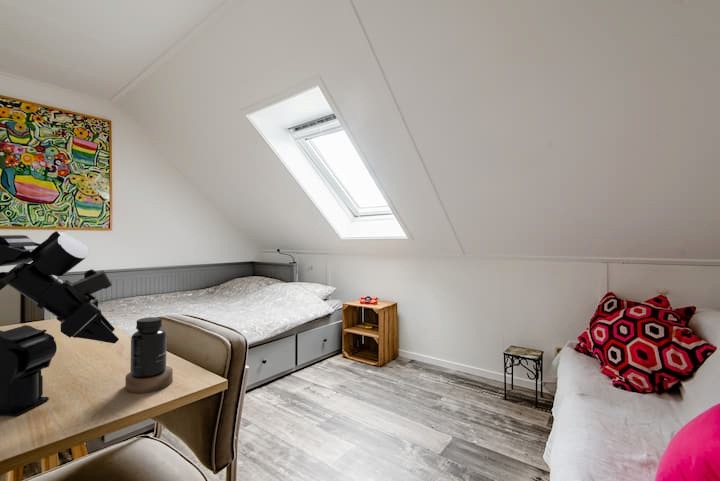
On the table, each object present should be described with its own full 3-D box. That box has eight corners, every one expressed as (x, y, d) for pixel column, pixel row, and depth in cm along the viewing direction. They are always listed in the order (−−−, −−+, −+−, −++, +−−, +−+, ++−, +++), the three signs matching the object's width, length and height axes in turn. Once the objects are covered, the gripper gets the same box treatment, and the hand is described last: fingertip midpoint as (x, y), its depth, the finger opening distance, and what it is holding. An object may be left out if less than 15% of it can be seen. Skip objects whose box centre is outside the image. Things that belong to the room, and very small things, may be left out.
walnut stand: (156, 394, 75) (156, 382, 75) (115, 392, 76) (115, 380, 75) (180, 376, 84) (180, 366, 84) (143, 375, 84) (143, 364, 84)
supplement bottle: (168, 375, 79) (168, 320, 78) (131, 382, 75) (131, 324, 75) (164, 365, 84) (164, 314, 84) (129, 371, 81) (130, 318, 80)
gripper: (84, 261, 66) (153, 314, 73) (82, 255, 80) (139, 299, 87) (25, 310, 61) (105, 361, 68) (35, 293, 75) (99, 337, 83)
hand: (114, 335), depth 77 cm, fingers open, 9 cm apart
